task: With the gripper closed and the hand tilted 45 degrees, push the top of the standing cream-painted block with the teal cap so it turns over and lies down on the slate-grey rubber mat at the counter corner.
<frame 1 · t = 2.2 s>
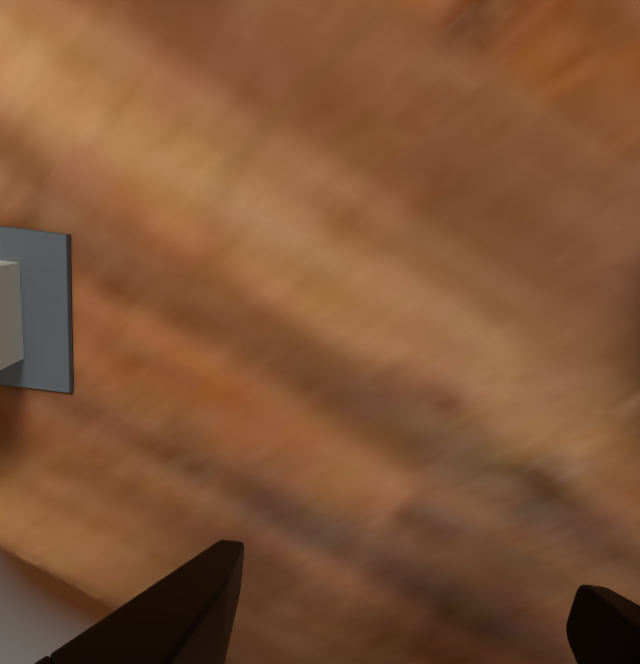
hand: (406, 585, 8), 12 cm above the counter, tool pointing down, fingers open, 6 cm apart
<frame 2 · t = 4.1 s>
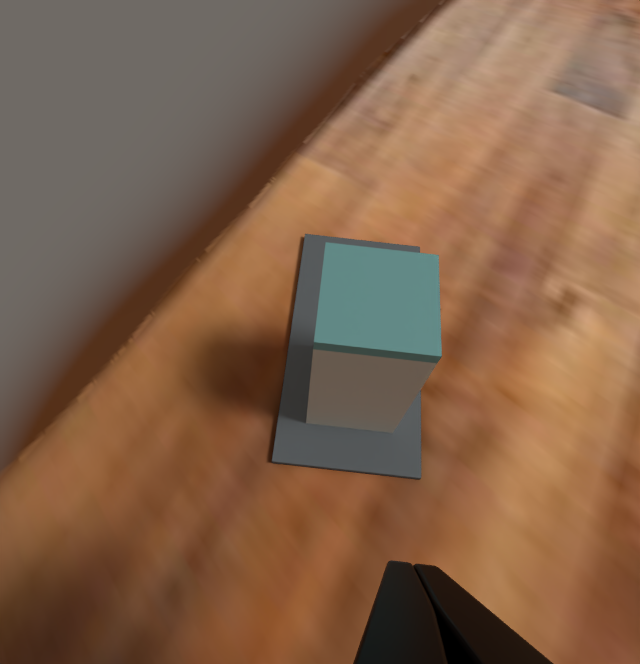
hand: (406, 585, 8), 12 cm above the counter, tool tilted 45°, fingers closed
slate mat: (354, 342, 24), on the counter
cream block: (352, 387, 23), resting on slate mat
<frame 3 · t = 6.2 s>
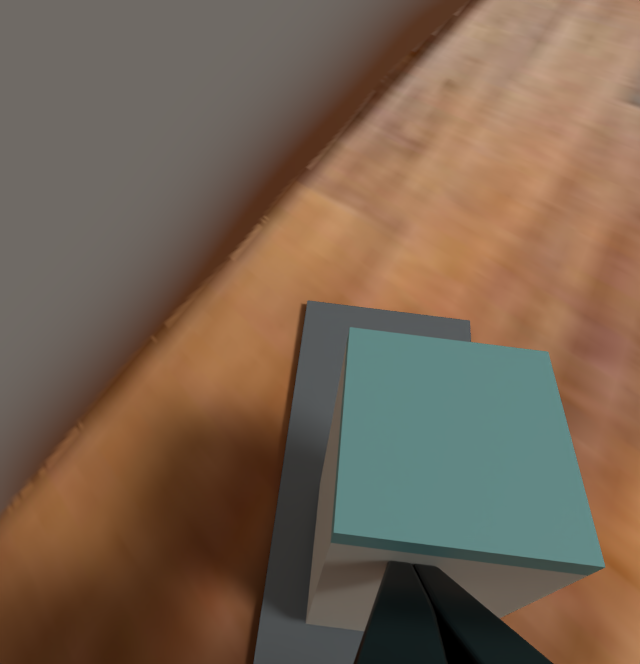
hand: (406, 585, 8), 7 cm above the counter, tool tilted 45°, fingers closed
slate mat: (379, 474, 16), on the counter
cream block: (379, 555, 14), point 1 cm above the counter, tilted 10°, touching gripper, slate mat
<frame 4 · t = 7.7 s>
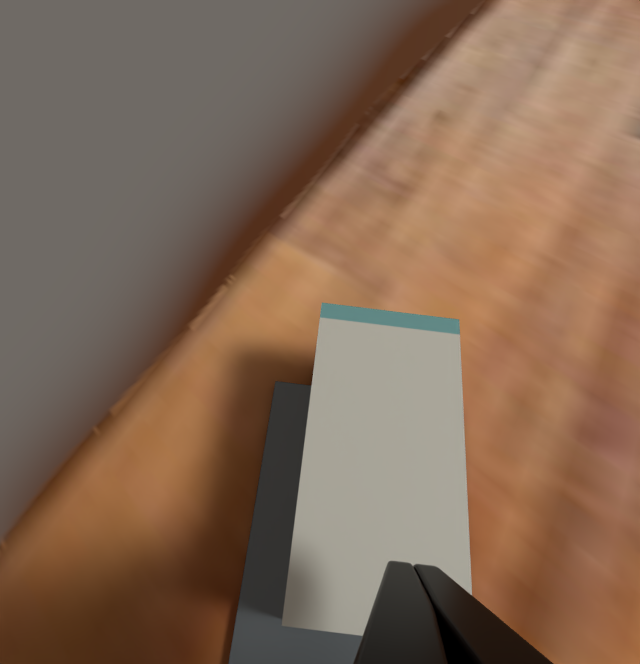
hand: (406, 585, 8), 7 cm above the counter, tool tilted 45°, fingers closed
slate mat: (354, 603, 14), on the counter
cream block: (364, 632, 12), point 2 cm above the counter, tilted 90°, touching slate mat
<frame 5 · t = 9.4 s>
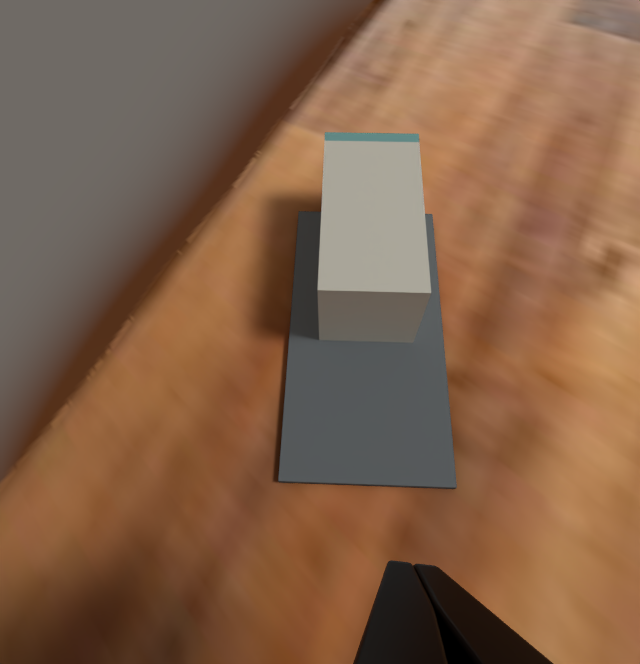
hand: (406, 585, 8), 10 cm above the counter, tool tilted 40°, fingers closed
slate mat: (365, 332, 21), on the counter
cream block: (369, 318, 19), point 2 cm above the counter, tilted 90°, touching slate mat
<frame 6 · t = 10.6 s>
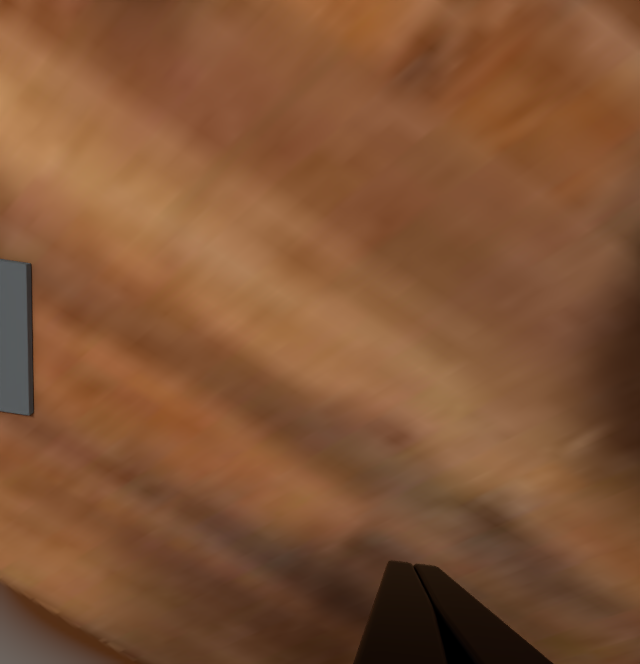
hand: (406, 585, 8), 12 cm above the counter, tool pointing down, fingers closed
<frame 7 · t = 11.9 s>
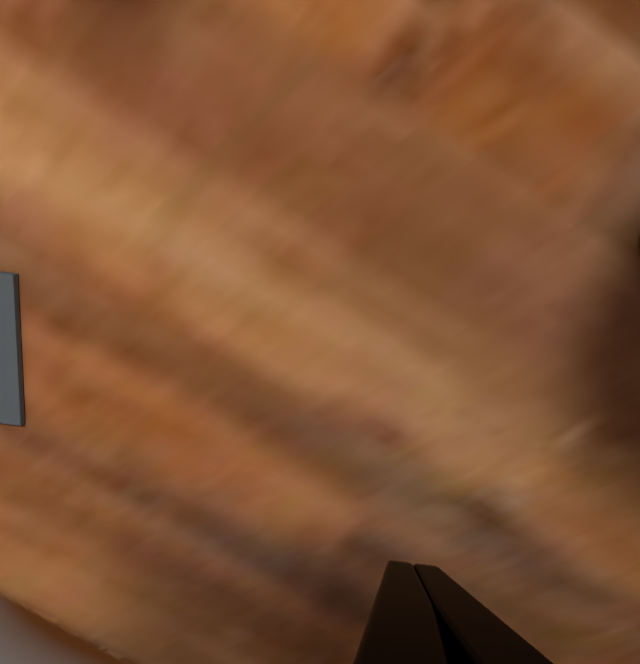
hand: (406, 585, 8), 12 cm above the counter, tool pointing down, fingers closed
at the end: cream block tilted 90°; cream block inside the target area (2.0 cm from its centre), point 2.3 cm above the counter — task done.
